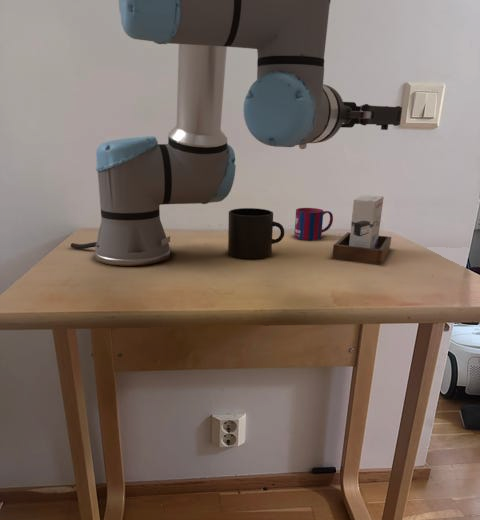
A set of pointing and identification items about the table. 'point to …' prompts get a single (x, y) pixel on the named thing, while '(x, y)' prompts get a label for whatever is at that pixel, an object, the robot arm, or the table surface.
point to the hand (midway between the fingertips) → (344, 115)
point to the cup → (310, 223)
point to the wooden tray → (361, 250)
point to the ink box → (366, 221)
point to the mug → (251, 233)
